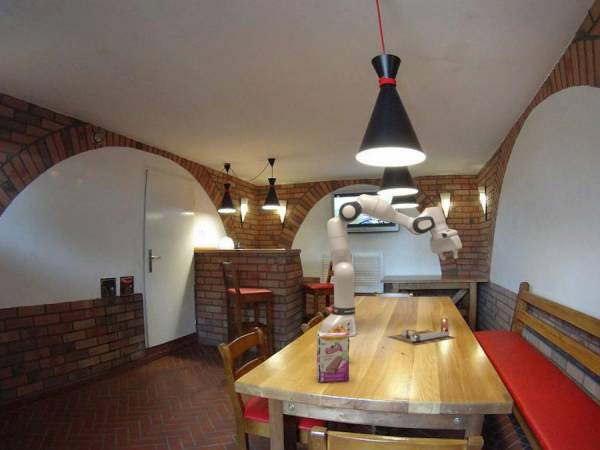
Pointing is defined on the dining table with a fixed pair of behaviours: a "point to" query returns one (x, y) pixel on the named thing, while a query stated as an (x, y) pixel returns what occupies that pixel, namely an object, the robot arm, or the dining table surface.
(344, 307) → the robot arm
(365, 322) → the dining table surface
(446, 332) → the lever
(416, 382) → the dining table surface
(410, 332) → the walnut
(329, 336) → the candy bar box
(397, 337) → the nutcracker base
